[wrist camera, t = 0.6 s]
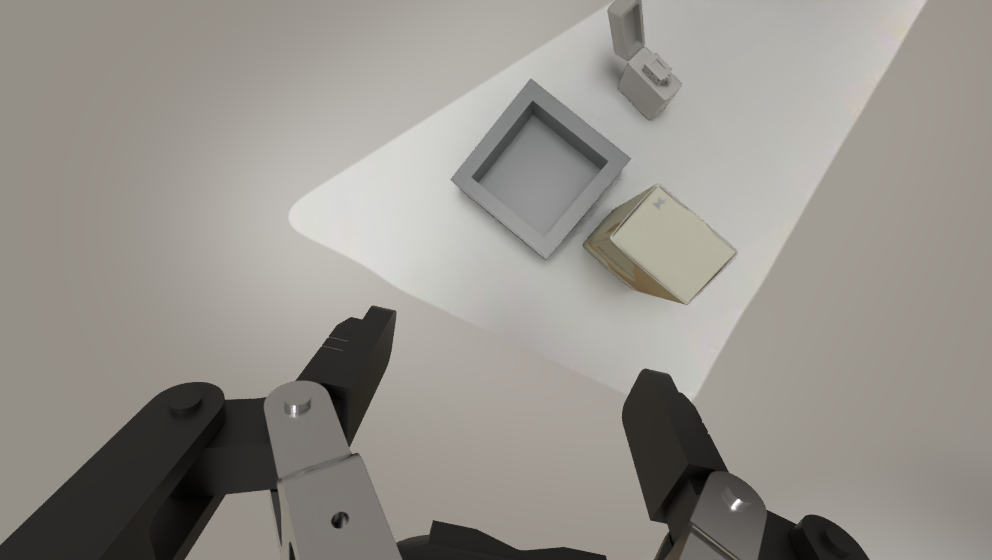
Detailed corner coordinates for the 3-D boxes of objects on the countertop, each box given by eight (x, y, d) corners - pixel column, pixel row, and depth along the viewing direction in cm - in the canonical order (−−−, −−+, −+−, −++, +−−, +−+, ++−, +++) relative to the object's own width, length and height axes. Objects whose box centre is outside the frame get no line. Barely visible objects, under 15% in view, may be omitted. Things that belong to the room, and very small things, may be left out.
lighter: (665, 107, 34) (703, 59, 26) (649, 121, 35) (683, 78, 27) (607, 48, 35) (628, -17, 27) (592, 62, 35) (608, 3, 27)
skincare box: (580, 245, 36) (602, 235, 23) (614, 207, 35) (654, 177, 23) (636, 294, 35) (688, 309, 23) (671, 256, 35) (742, 251, 23)
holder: (531, 99, 36) (530, 78, 32) (620, 170, 35) (631, 158, 31) (460, 188, 36) (450, 179, 32) (545, 259, 36) (546, 259, 32)
